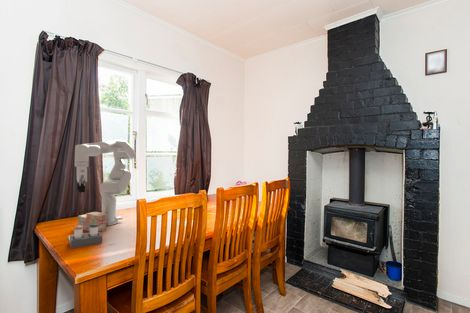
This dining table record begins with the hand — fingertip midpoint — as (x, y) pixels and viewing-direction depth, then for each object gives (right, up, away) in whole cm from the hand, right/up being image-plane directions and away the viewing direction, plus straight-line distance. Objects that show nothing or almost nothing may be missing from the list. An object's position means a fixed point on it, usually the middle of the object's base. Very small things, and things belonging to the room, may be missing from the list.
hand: (81, 191), depth 157 cm
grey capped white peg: (+16, -27, -14) cm, 34 cm away
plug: (+10, -27, -18) cm, 34 cm away
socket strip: (+13, -29, -16) cm, 35 cm away
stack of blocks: (+1, -29, +11) cm, 31 cm away
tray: (+3, -29, -7) cm, 29 cm away
